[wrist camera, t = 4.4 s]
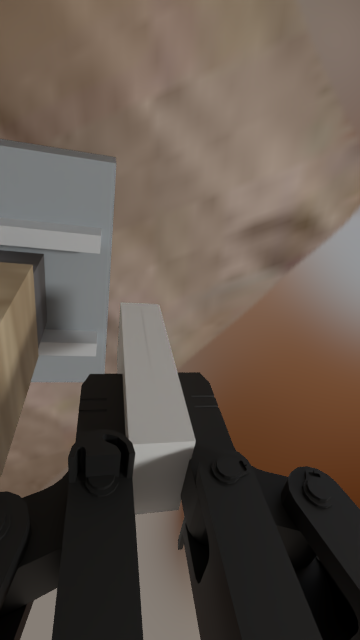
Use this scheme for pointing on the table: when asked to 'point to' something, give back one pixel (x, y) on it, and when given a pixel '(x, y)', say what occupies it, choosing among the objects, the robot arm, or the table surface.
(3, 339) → the tan block
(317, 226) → the table surface
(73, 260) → the board
